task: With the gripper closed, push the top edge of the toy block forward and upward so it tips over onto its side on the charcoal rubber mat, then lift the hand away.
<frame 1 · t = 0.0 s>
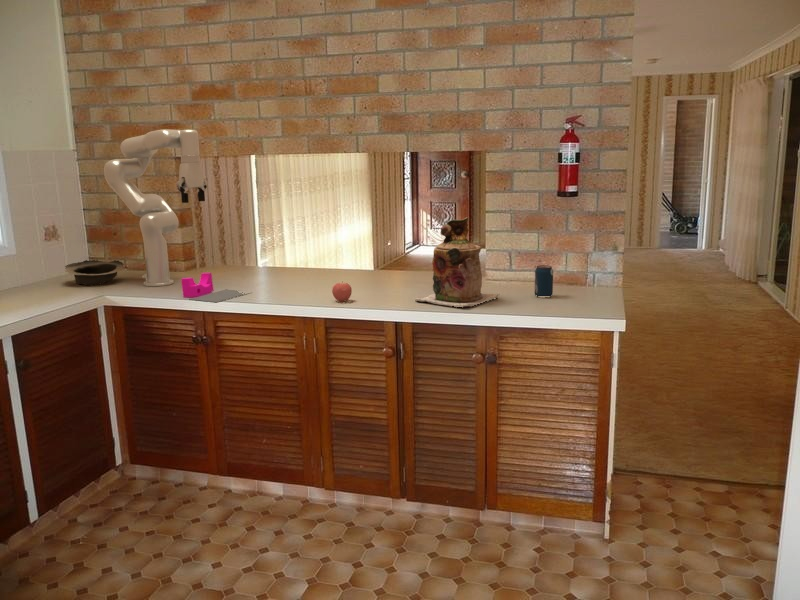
hand: (193, 201, 293), 37 cm above the worktop, tool pointing down, fingers open, 9 cm apart
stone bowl: (96, 283, 318), on the worktop
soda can: (543, 297, 274), on the worktop
cookie jar: (457, 301, 269), on the worktop
toy block: (201, 294, 287), on the worktop, touching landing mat
apple: (342, 301, 270), on the worktop
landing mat: (221, 296, 283), on the worktop
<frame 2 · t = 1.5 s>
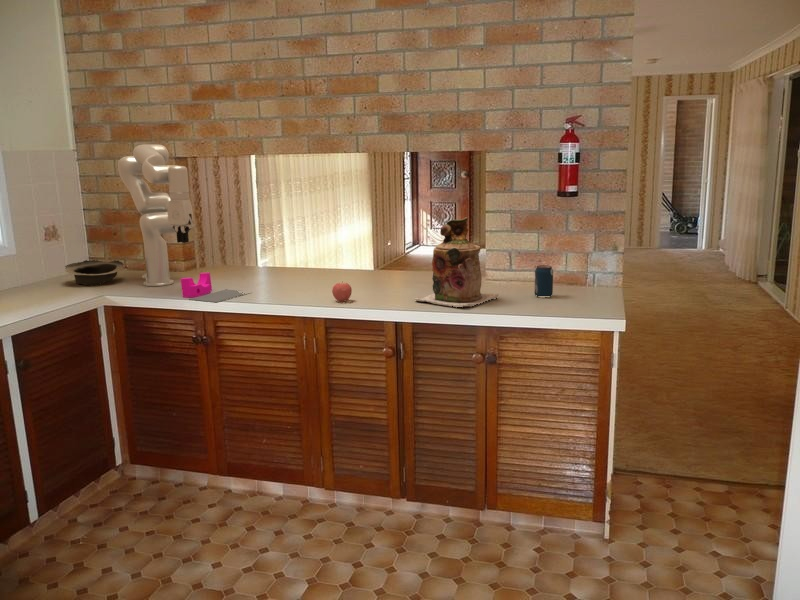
hand: (183, 242, 287), 21 cm above the worktop, tool pointing down, fingers closed
nothing on the worktop moved.
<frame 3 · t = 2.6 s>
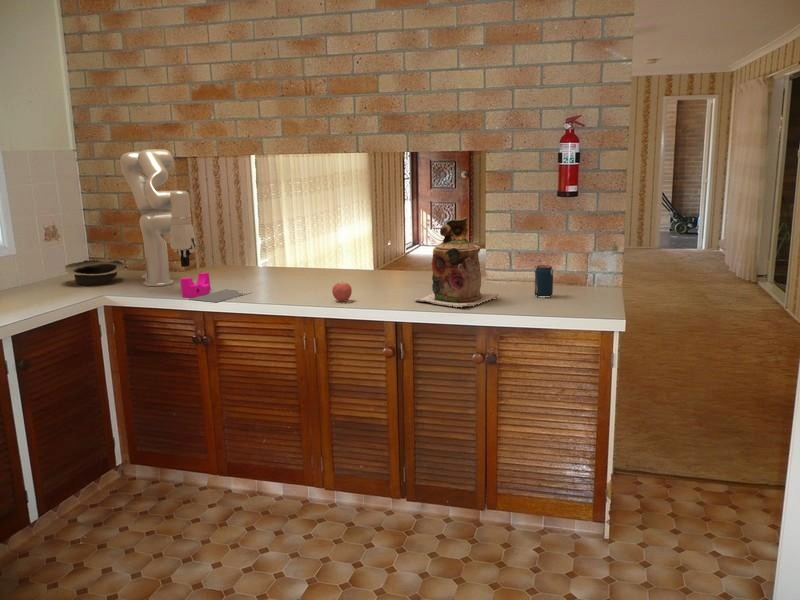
hand: (185, 266, 288), 11 cm above the worktop, tool pointing down, fingers closed
nothing on the worktop moved.
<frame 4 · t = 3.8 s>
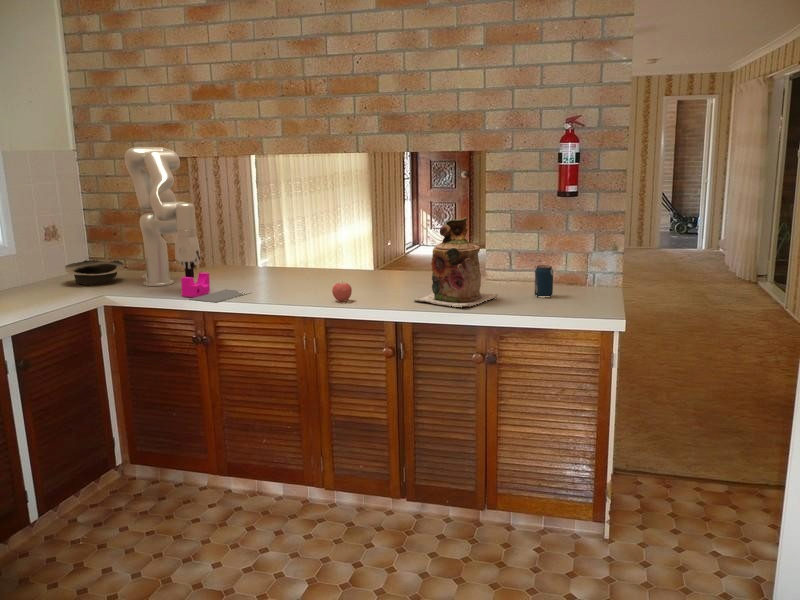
hand: (189, 277, 289), 6 cm above the worktop, tool pointing down, fingers closed
toy block: (198, 294, 288), on the worktop, touching gripper, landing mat
everything else where it was.
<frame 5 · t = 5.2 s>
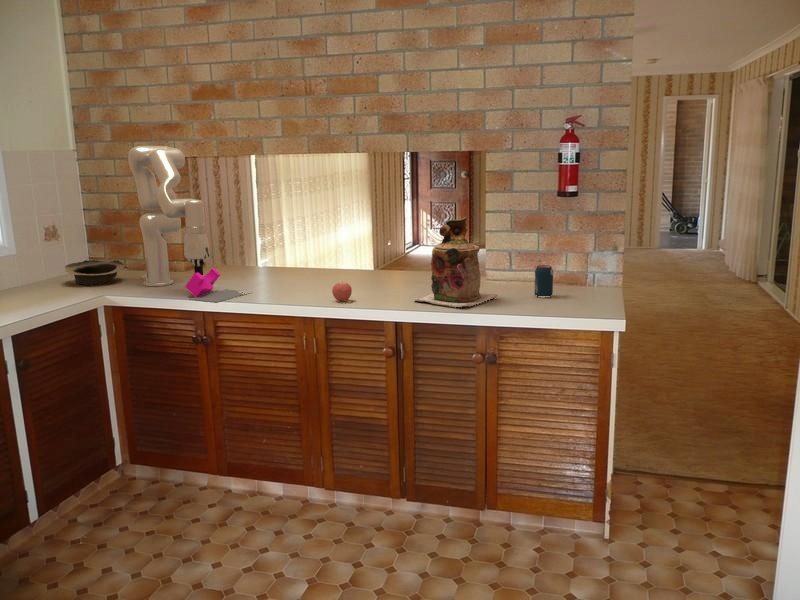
hand: (199, 275, 286), 8 cm above the worktop, tool pointing down, fingers closed
toy block: (200, 289, 287), point 2 cm above the worktop, touching gripper, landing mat
everything else where it was.
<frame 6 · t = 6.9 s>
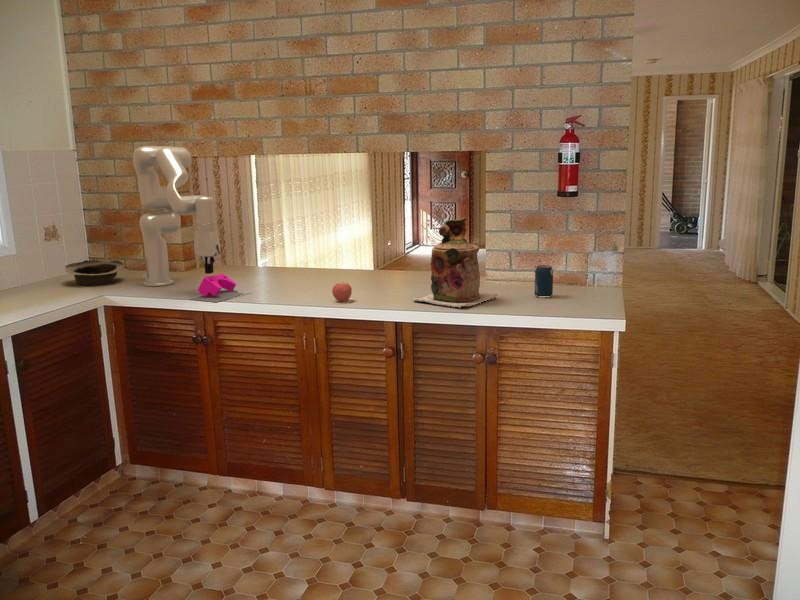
hand: (209, 273, 283), 9 cm above the worktop, tool pointing down, fingers closed
toy block: (209, 281, 285), point 5 cm above the worktop, touching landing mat
everything else where it was.
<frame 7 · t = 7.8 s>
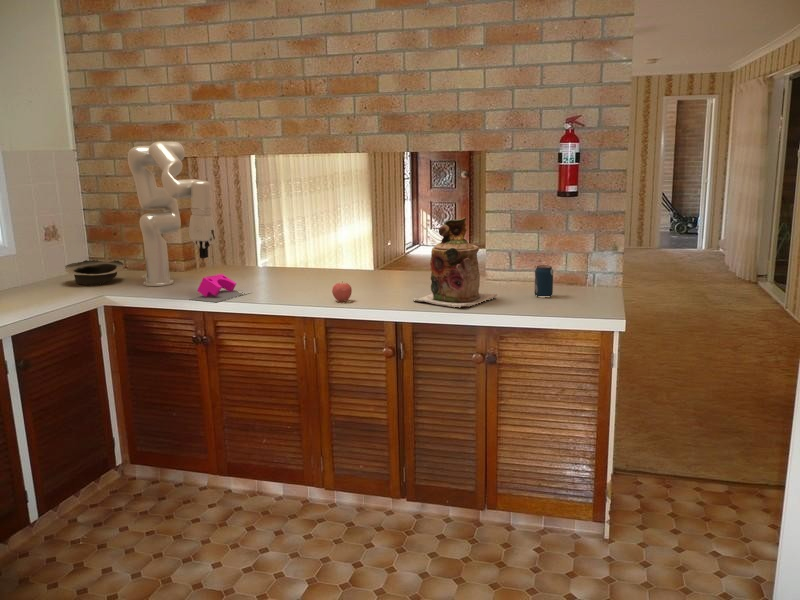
hand: (204, 257, 283), 15 cm above the worktop, tool pointing down, fingers closed
nothing on the worktop moved.
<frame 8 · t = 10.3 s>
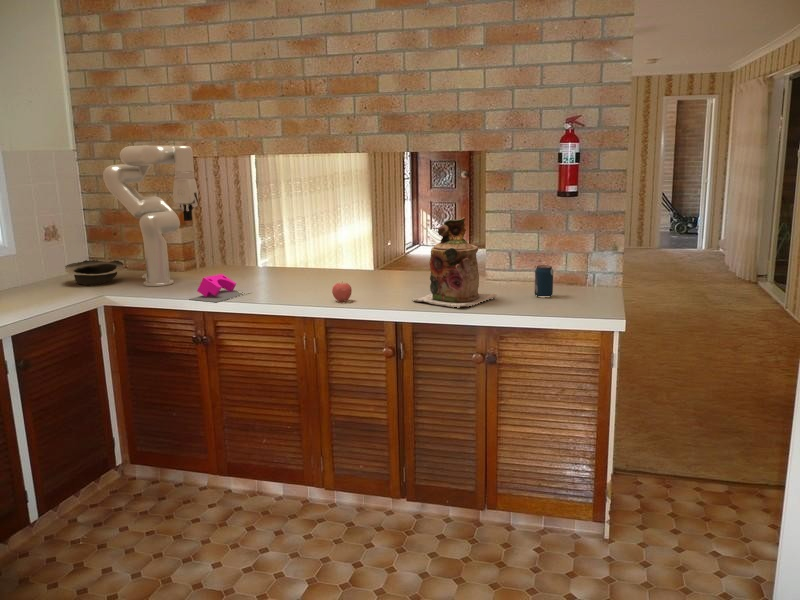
hand: (188, 220, 294), 29 cm above the worktop, tool pointing down, fingers closed
at the end: toy block tilted 120°; toy block inside the target area (0.8 cm from its centre), point 5.2 cm above the worktop; toy block touching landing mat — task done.
